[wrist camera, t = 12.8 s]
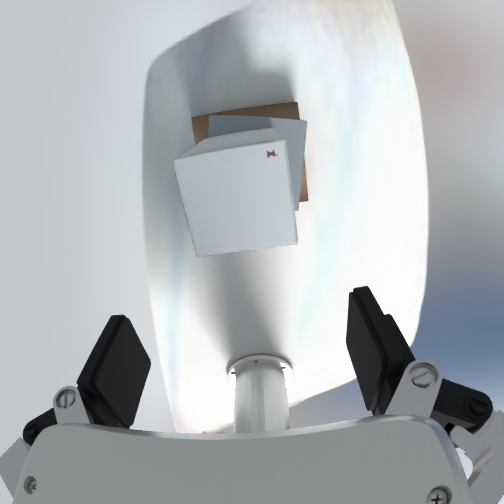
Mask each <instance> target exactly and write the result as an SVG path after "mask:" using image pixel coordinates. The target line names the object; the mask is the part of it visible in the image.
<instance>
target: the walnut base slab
mask: <svg viewBox="0 0 504 504" xmlns="http://www.w3.org/2000/svg"><path fill="white" fill-rule="evenodd" d="M210 115H231V116H257V117H273V118H286V119H296V120H300V117H299V110H298V103H297V102H292V103H281V104H272V105H264V106H256V107H249V108H242V109H236V110H230V111H224V112H218V113H213V114H208V115H203V116H198V117H193V118H191V119H192V124H193V130H194V135H195V140H196V144H198V143H199V142H201V141H203V140H204V139H206V138H208V133H209V116H210ZM304 201H308V191H307V180H306V170H305V160H304V161H303V171H302V181H301V190H300V200H299V202H304Z"/></svg>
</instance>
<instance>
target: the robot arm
mask: <svg viewBox="0 0 504 504" xmlns="http://www.w3.org/2000/svg"><path fill="white" fill-rule="evenodd" d="M346 345H347V349H348V352H349V355H350V358H351V361H352V364H353V367H354V370H355V373H356V376H357V379H358V382H359V386H360V389H361V392H362V395H363V398H364V402H365V405H366V408H367V410H368V411H370V410H372V413H373V416H370V417H365V418H359V419H353V420H348V421H343V422H338V423H331V424H325V425H318V426H311V427H305V428H297V429H290V419H289V409H288V399H287V389H286V387H288V386H289V385H290V383H291V382H292V379H293V370H292V368H291V366H290V365H289V363H287V362H286V361H285V360H283V359H281V358H278V357H275V356H270V355H253V356H248V357H245V358H242V359H240V360H238V361H236V362H235V363H234V364H233V365H232V366H231V367H230V369H229V371H228V381H229V383H230V385H231V386H232V387H233V388H234V389H235V408H234V432H233V434H187V433H166V432H152V431H142V430H132V429H129V428H130V426H131V425H133V423H134V419H135V416H136V412H137V409H138V405H139V402H140V398H141V395H142V392H143V389H144V386H145V382H146V379H147V376H148V373H149V370H150V366H151V361H150V358H149V356H148V355H147V353H146V351H145V349H144V347H143V345H142V343H141V342H140V340H139V337H138V335H137V334H136V331H135V329H134V327H133V325H132V324H131V321H130V320H129V318H126V316H125V315H113V316H111V317H110V319H109V321H108V323H107V324H106V326H105V328H104V330H103V332H102V334H101V335H100V337H99V339H98V341H97V343H96V345H95V346H94V348H93V350H92V352H91V354H90V356H89V358H88V360H87V362H86V364H85V366H84V368H83V370H82V372H81V374H80V376H79V378H78V380H77V382H76V383H77V384H78V387H77V388H76V387H73V386H66V387H64V388H62V389H60V390H59V391H58V392H57V393H56V395H55V397H54V399H53V406H54V407H53V408H52V409H50V410H48V411H47V412H45V413H43V414H42V415H40V416H38V417H36V418H35V419H33V420H32V421H30V422H29V423H27V425H26V426H25V428H24V430H23V439H22V438H21V437H20V438H19V439H18V440H17V441H16V442H15V443H14V444H13V445H12V446H11V447H10V448H9V449H8V450H7V451H6V452H5V453H4V454H3V455H2V456H1V457H0V475H1V477H2V479H3V481H4V482H5V484H6V486H7V488H8V490H9V491H10V493H11V495H12V496H13V498H14V500H13V504H497V503H498V502H499V501H500V499H501V498H502V496H503V495H504V413H503V412H502V411H500V410H498V411H497V412H496V411H495V410H493V405H492V401H491V400H490V398H489V397H488V396H487V395H486V394H484V393H482V392H480V391H477V390H474V389H471V388H468V387H465V386H463V385H460V384H456V383H454V382H451V381H449V380H446V379H443V378H442V371H441V369H440V367H439V366H438V365H437V364H436V363H434V362H432V361H430V360H425V359H421V360H416V359H415V358H414V356H413V354H412V352H411V350H410V348H409V346H408V344H407V342H406V340H405V339H404V337H403V335H402V333H401V331H400V329H399V328H398V326H397V324H396V322H395V321H394V319H393V317H392V316H391V315H390V314H386V315H384V314H383V312H382V310H381V308H380V306H379V305H378V303H377V301H376V299H375V298H374V296H373V294H372V292H371V290H370V289H369V287H368V286H364V287H358V288H354V290H353V292H350V293H349V305H348V321H347V335H346ZM458 447H460V448H461V449H463V450H464V451H465V453H464V454H465V455H466V456H467V457H469V458H470V459H471V461H472V463H473V472H472V474H471V475H470V477H469V479H468V480H467V479H466V475H465V472H464V469H463V467H462V464H461V461H460V458H459V456H458V453H457V451H456V449H455V448H458ZM430 491H431V492H430Z"/></svg>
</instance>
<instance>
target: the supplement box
mask: <svg viewBox="0 0 504 504" xmlns="http://www.w3.org/2000/svg"><path fill="white" fill-rule="evenodd" d="M173 164H174V168H175V173H176V178H177V182H178V186H179V190H180V194H181V198H182V203H183V206H184V210H185V214H186V218H187V222H188V226H189V230H190V233H191V237H192V240H193V244H194V247H195V251H196V255H197V257H202V256H210V255H217V254H224V253H231V252H238V251H245V250H253V249H262V248H271V247H279V246H288V245H295V244H297V242H298V237H297V227H296V218H295V209H294V200H293V189H292V184H291V176H290V168H289V160H288V153H287V145H286V139H285V138H284V137H282V136H281V135H280V134H279V133H278V132H277V131H275V130H274V129H273V128H266V129H259V130H251V131H244V132H237V133H232V134H226V135H221V136H216V137H211V138H206V139H204V140H203V141H201V142H199V143H198V144H196V145H195V146H193V147H192V148H190V149H189V150H187V151H186V152H184V153H183V154H181V155H180V156H178V157H177V158H175V159H174V160H173Z"/></svg>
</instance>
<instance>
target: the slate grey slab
mask: <svg viewBox="0 0 504 504" xmlns="http://www.w3.org/2000/svg"><path fill="white" fill-rule="evenodd" d="M306 127H307V121H304V120H296V119H286V118H273V117H257V116H231V115H210V116H209V133H208V138H211V137H216V136H221V135H226V134H232V133H237V132H244V131H251V130H259V129H266V128H273V129H274V130H275V131H277V132H278V133H279V134H280V135H281V136H282V137H284V138H285V139H286V145H287V153H288V160H289V168H290V176H291V184H292V189H293V200H294V209H295V211H298V208H299V200H300V190H301V181H302V171H303V161H304V150H305V139H306Z"/></svg>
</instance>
